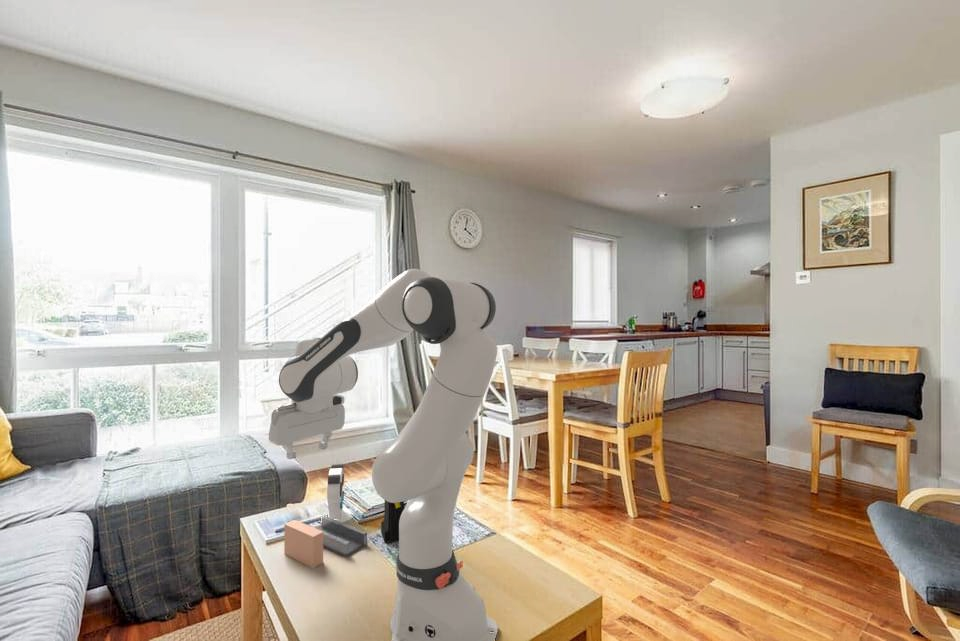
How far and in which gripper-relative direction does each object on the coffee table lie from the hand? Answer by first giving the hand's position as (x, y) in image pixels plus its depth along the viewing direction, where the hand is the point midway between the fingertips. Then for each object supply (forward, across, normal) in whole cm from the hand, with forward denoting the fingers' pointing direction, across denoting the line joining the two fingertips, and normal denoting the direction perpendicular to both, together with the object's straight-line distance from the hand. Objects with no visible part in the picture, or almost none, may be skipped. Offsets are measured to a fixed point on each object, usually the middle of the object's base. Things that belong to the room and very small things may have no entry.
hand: (307, 453), depth 114 cm
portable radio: (+27, +21, -12) cm, 37 cm away
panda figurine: (+29, +20, +12) cm, 37 cm away
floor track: (+28, +10, 0) cm, 30 cm away
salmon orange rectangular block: (+28, 0, 0) cm, 28 cm away
